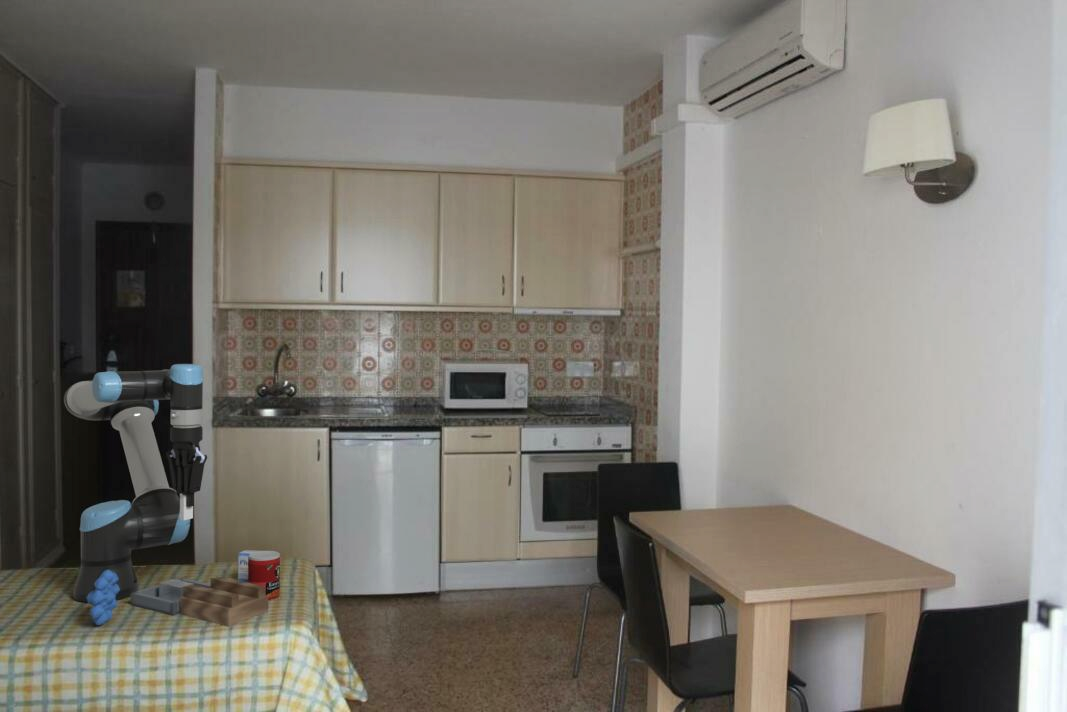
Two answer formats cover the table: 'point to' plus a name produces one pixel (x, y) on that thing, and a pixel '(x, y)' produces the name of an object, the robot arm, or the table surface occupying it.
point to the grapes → (103, 597)
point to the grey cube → (177, 590)
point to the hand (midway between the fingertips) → (186, 518)
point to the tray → (160, 599)
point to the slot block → (224, 601)
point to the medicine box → (243, 565)
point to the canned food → (265, 571)
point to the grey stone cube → (166, 588)
